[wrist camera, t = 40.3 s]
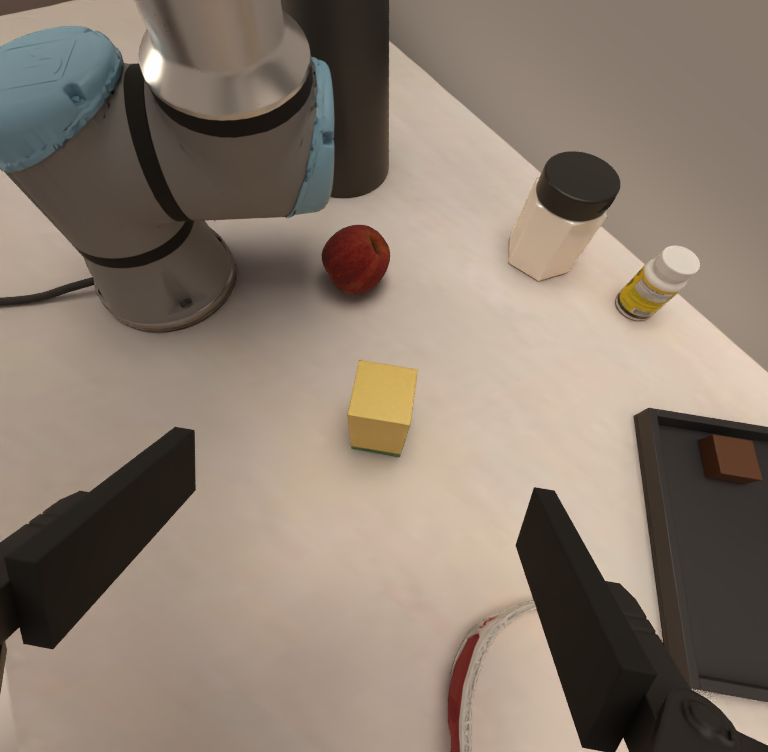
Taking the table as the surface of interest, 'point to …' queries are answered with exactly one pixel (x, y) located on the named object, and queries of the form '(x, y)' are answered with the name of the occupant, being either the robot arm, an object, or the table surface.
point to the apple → (356, 258)
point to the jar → (562, 214)
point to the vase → (353, 84)
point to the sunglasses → (474, 672)
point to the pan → (708, 553)
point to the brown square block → (729, 459)
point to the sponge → (381, 407)
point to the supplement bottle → (657, 282)
